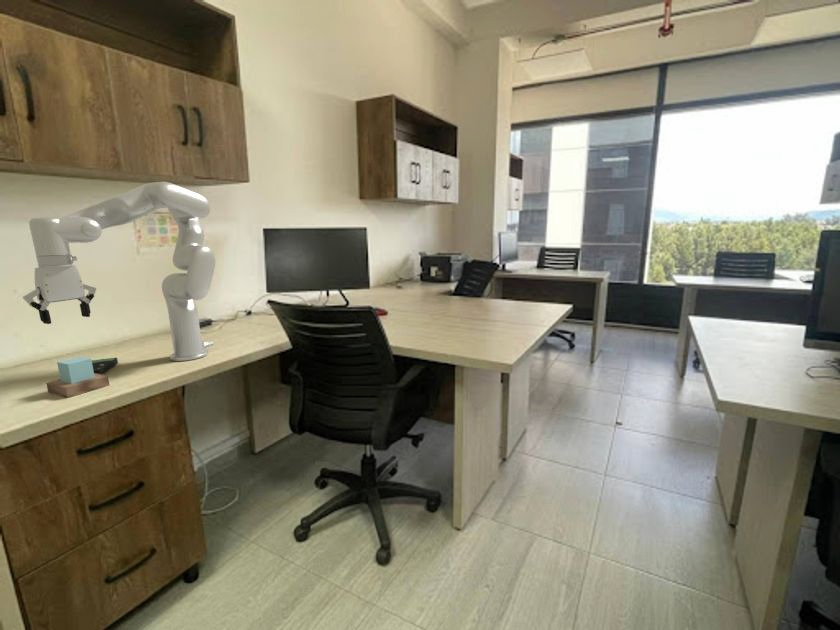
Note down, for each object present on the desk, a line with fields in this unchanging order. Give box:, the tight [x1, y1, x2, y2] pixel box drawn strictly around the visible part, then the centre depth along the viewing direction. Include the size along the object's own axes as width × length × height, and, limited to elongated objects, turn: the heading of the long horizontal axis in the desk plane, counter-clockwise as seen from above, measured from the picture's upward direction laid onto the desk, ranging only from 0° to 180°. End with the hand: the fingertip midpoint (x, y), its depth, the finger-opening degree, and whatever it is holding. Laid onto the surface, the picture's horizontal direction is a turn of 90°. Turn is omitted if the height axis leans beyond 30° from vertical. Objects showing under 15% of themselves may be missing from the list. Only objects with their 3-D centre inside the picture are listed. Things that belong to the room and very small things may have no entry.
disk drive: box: [91, 357, 119, 375], centre depth 143 cm, size 10×3×15 cm
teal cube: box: [56, 356, 95, 384], centre depth 125 cm, size 6×6×6 cm
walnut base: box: [46, 373, 110, 399], centre depth 126 cm, size 11×11×3 cm
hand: (67, 319), depth 122 cm, fingers open, 9 cm apart
